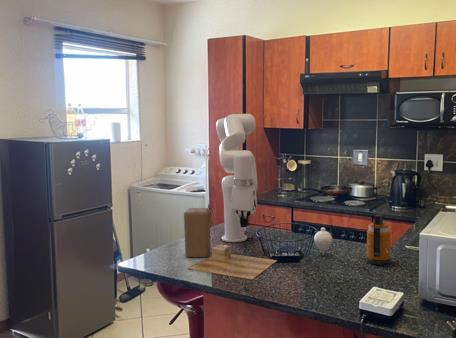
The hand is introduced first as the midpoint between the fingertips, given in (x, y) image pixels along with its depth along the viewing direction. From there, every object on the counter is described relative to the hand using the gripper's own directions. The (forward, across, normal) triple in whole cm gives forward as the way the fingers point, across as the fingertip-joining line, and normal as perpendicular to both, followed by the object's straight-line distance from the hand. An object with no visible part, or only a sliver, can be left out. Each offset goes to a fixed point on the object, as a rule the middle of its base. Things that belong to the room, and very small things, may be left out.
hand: (244, 226), depth 186 cm
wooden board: (+15, +1, +7) cm, 16 cm away
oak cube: (+15, +10, +2) cm, 18 cm away
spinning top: (+15, -28, -20) cm, 37 cm away
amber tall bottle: (+15, -51, -19) cm, 56 cm away
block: (+15, +22, +1) cm, 27 cm away
